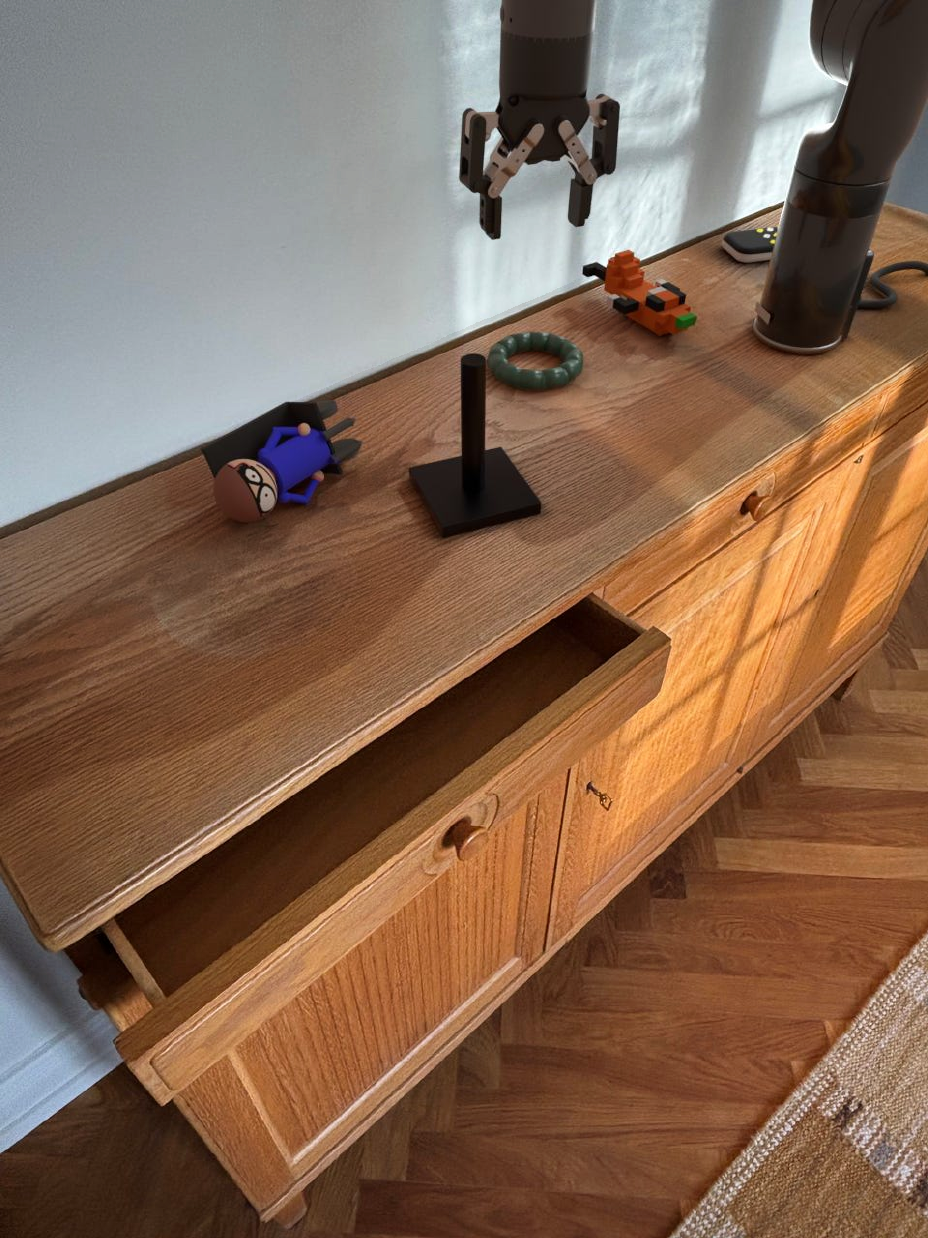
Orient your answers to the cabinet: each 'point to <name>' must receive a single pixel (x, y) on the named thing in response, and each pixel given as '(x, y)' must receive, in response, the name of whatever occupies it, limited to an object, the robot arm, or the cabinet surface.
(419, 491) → the post
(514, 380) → the ring
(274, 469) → the character figurine
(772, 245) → the remote control
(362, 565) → the cabinet surface
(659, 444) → the cabinet surface
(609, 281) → the toy
